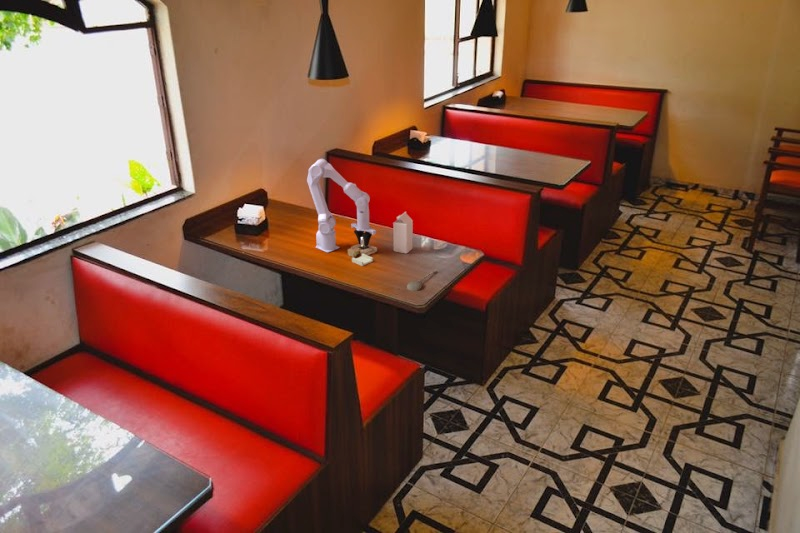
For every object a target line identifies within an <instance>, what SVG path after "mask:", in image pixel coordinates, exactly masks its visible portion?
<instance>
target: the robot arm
mask: <svg viewBox="0 0 800 533" xmlns="http://www.w3.org/2000/svg"><path fill="white" fill-rule="evenodd" d="M321 177H322V178H330V179H331V180H332V181H333V182H335V183H336V184H337V185H338V186H341V188H342V189H343V193H344V194H346V195H347V196H348V197H349V198H350V199H351V200H353V202H354V204H355V206H356V219H357V221H356V222H357V223H355V222H352V223H350V226H351V229H355V230H353V233H354V234H355V237H356V239H357V242H358V244H360V236H361V235H363V238H364V245H365V246H368V245H370V240H371V239H372V238H371V237H372V236H374V235H377V230H376V229H374V228H372V227H371V226H370V209H369V208H370V207H369V202H370V199H371V198H370V195H369V194H368V193H367V192H364V191H363V190H361V189H360V188H359V187H358V186H357V184H356V183H353V182H348V181H347V180H346V179H345V178H344V177H343V176H342V175H341V174H340V173H339V172H338V171H337V170H336V169H335V168H334V167H333V165H332V164H331V163H329V162H328V161H327V160H326V159H324V158H318V159H317V160H316V161H315V162H314V163H312V165H311V166H310V167H309V168H308V173H307V178H306V183H307V185H308V188H309V189H308V190H309V191H310V194H311V197H312V200H313V203H314V204H313V205H314V206H315V209H316V213H317V215H318V217H317V222H318V230H317V232H316V234H315V235H316V236H315V238H316V246H315V249H318V250H320V251H323V252H325V253H327V254H328V253H331V252H333V251H336V250H338V249H340V246H338V245H336V242H337V241H336V230H335V226H336V224H337V221H336V218H335V217H334V216H333V214H332V213H331V211H329V209H328V204H327V202H326V199H325V196H324V193H323V190H322V186H321V185H320V179H321Z"/></svg>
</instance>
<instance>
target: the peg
mask: <svg viewBox="0 0 800 533" xmlns="http://www.w3.org/2000/svg"><path fill="white" fill-rule="evenodd" d="M360 245H361V249H362V250H365V249H367V246H365V245H364V238H363V235H361V236H360Z"/></svg>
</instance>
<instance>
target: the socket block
mask: <svg viewBox="0 0 800 533" xmlns="http://www.w3.org/2000/svg"><path fill="white" fill-rule="evenodd" d="M350 248H352V249H354V250H355V249H357V248H361V245H360V244H359V243H358V244H357V243H356V244H355V245H352V246H350ZM376 252H378V247H376V246H374V245H371V244H369V245H368V246H367V249H365V250H360V254H359V255H360V256H362V254H365V255H368V256H370V255H371V254H375V253H376Z"/></svg>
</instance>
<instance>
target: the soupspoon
mask: <svg viewBox="0 0 800 533" xmlns="http://www.w3.org/2000/svg"><path fill="white" fill-rule="evenodd" d="M436 272H437V273H438V270H437V269H433V270H432V271H431V272H429V273H428V274H427V275H425V276H423V277H422V278H421V279H419V280H412V281H410V282H408V284H407V285H406V290H408V291H411V292H418V291H419V290H421V289H422V287H423V282H422V281H423V280H425V279H426V278H428V277H429V276H431V275H432V274H435V273H436Z"/></svg>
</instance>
